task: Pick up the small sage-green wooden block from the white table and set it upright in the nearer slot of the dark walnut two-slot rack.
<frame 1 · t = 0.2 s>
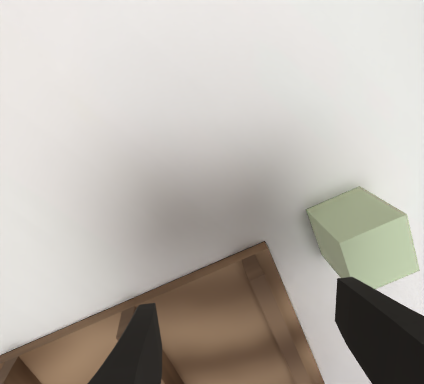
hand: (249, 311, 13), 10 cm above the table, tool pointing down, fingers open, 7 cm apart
sage block: (339, 221, 24), on the table
slot rack: (172, 365, 26), on the table
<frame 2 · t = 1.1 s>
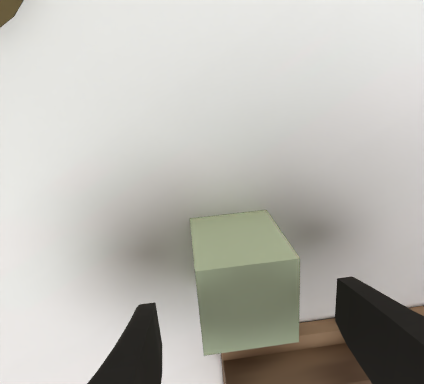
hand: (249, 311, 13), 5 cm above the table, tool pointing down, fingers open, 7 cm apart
sage block: (230, 248, 18), on the table
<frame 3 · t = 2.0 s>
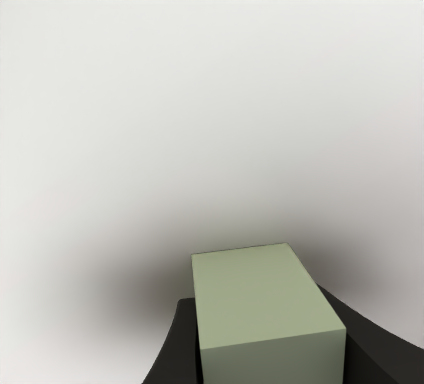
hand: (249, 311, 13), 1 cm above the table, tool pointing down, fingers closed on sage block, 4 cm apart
sage block: (242, 289, 14), on the table, touching gripper
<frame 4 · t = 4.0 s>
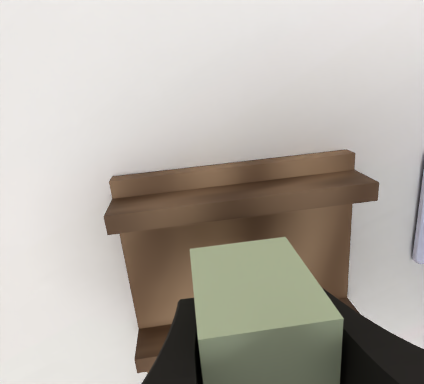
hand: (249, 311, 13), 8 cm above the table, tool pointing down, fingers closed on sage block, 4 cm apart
sage block: (240, 284, 14), point 7 cm above the table, touching gripper
slot rack: (242, 309, 23), on the table
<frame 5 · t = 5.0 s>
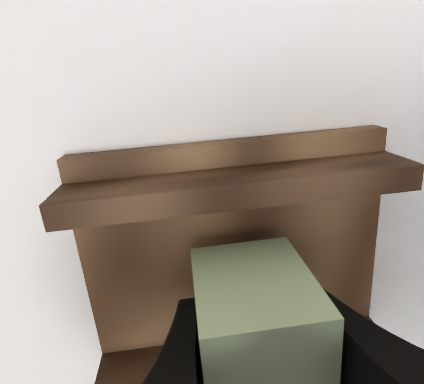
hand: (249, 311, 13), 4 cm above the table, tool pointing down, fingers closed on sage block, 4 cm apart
sage block: (241, 284, 14), point 3 cm above the table, touching gripper
slot rack: (236, 328, 18), on the table
when the fingers open (4 cm above the table, at t = 5.9 s): sage block drops 1 cm, resting on slot rack.
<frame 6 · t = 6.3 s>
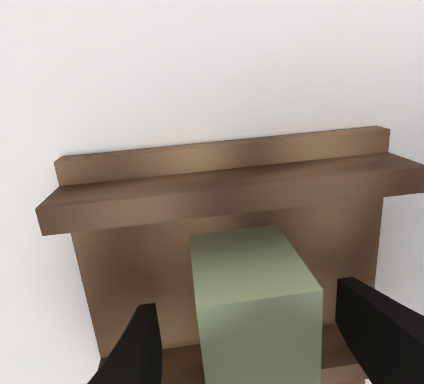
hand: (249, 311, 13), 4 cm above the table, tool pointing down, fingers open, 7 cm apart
sage block: (236, 267, 16), point 1 cm above the table, touching slot rack
slot rack: (237, 332, 18), on the table
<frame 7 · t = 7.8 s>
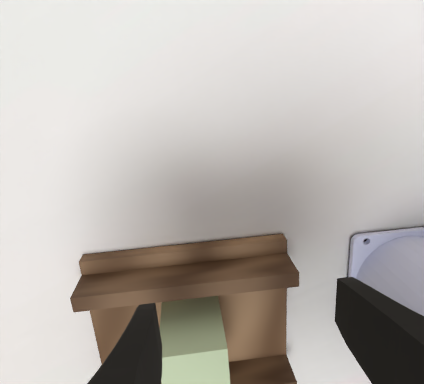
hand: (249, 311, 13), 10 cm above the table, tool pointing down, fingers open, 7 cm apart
sage block: (192, 321, 24), point 1 cm above the table, touching slot rack
slot rack: (197, 360, 27), on the table
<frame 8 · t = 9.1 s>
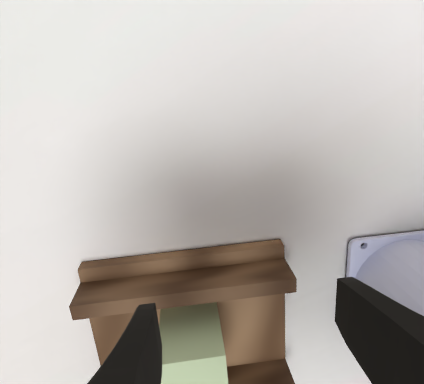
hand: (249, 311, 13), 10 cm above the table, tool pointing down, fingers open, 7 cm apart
sage block: (191, 327, 24), point 1 cm above the table, touching slot rack
slot rack: (196, 365, 27), on the table
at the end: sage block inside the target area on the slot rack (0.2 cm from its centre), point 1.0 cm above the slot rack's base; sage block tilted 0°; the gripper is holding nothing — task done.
